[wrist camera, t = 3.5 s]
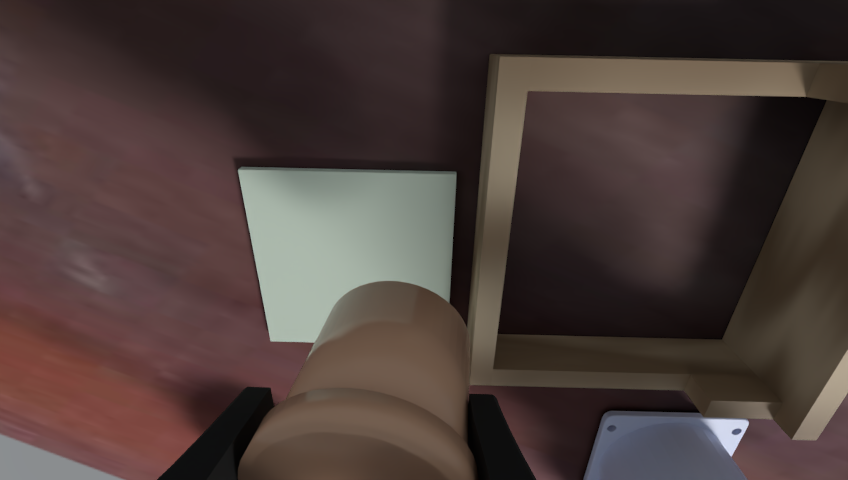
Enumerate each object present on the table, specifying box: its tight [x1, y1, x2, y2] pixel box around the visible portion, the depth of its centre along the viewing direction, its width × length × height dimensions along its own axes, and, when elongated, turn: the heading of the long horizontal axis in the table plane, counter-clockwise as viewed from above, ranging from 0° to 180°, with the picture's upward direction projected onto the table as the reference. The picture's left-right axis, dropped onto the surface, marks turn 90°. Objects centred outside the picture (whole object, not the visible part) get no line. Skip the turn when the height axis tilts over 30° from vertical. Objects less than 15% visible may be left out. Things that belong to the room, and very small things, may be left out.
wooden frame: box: [467, 54, 848, 440], centre depth 16 cm, size 14×14×5 cm
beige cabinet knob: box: [238, 281, 478, 480], centre depth 11 cm, size 5×5×5 cm
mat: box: [238, 167, 457, 342], centre depth 19 cm, size 9×9×1 cm
